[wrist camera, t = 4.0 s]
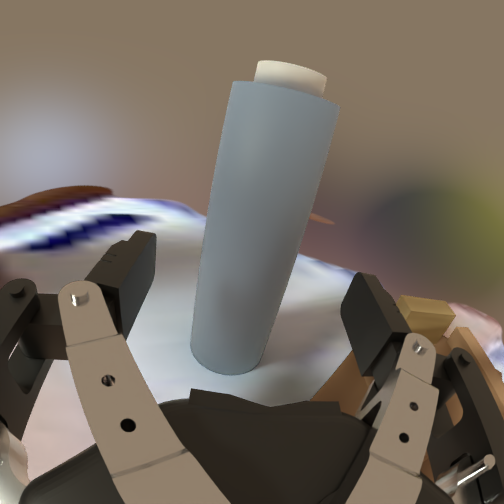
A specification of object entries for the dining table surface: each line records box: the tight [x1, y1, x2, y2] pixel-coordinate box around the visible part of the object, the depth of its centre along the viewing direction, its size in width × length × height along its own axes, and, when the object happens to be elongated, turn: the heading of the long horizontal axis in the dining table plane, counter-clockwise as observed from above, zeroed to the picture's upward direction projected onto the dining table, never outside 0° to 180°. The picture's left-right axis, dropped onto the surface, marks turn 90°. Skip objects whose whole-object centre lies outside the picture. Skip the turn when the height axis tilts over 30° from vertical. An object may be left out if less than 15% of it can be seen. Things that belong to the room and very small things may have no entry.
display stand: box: [310, 295, 504, 483], centre depth 14 cm, size 15×15×6 cm
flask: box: [190, 61, 340, 375], centre depth 15 cm, size 5×5×17 cm
